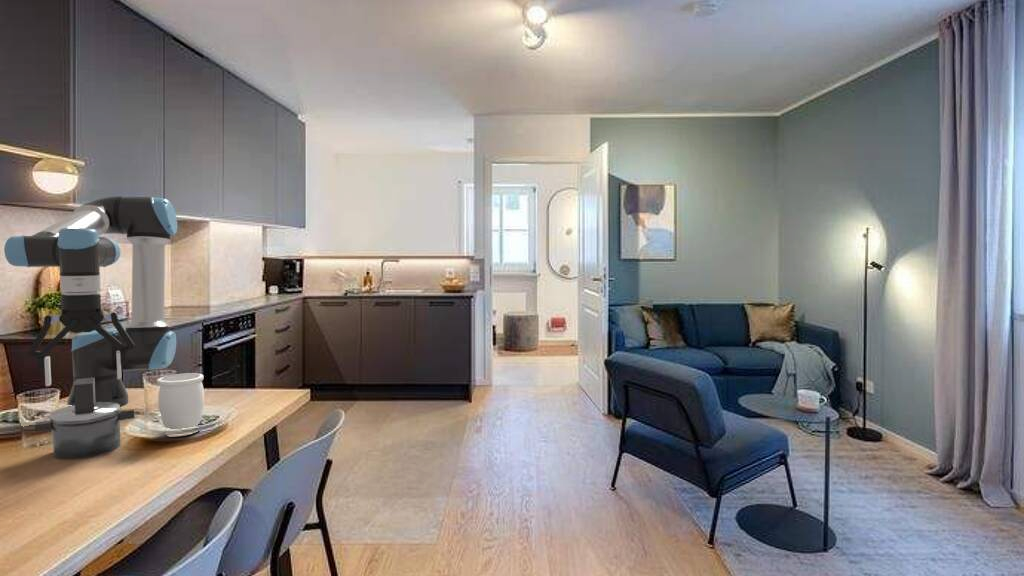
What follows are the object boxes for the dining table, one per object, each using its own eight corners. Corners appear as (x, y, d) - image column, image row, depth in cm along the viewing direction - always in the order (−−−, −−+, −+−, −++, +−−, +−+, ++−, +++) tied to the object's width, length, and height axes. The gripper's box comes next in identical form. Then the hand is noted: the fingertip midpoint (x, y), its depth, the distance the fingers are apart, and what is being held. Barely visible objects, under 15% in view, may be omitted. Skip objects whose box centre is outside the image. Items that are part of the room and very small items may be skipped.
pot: (41, 448, 137) (39, 411, 136) (135, 434, 147) (134, 400, 146) (32, 466, 125) (30, 427, 125) (135, 450, 136) (133, 413, 135)
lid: (53, 411, 137) (52, 378, 136) (120, 403, 144) (119, 372, 143) (46, 426, 126) (44, 391, 125) (119, 416, 133) (118, 383, 132)
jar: (184, 441, 143) (182, 382, 142) (149, 437, 145) (147, 380, 144) (214, 427, 153) (212, 373, 152) (181, 425, 155) (179, 371, 154)
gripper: (8, 296, 123) (13, 391, 125) (143, 292, 137) (147, 378, 139) (14, 294, 130) (19, 384, 131) (143, 290, 143) (146, 372, 145)
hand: (85, 381), depth 135 cm, fingers open, 13 cm apart
